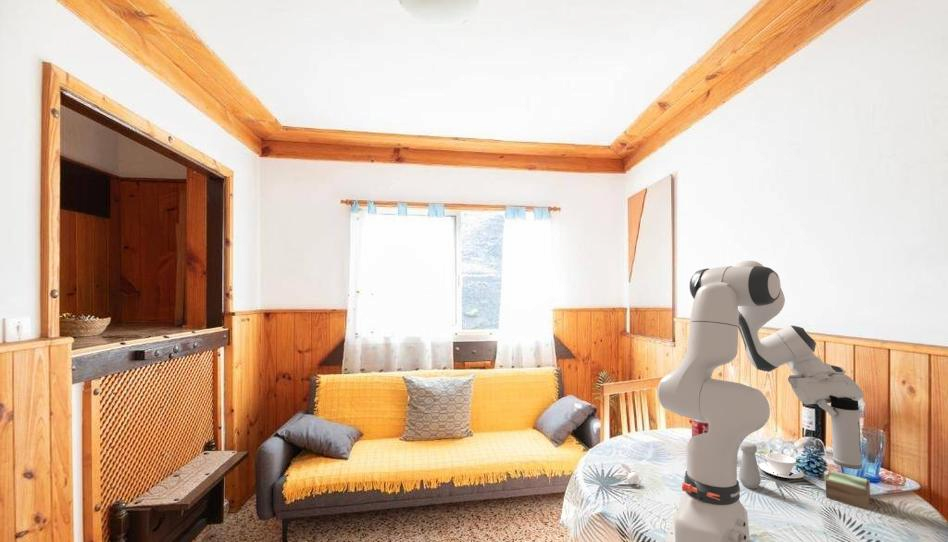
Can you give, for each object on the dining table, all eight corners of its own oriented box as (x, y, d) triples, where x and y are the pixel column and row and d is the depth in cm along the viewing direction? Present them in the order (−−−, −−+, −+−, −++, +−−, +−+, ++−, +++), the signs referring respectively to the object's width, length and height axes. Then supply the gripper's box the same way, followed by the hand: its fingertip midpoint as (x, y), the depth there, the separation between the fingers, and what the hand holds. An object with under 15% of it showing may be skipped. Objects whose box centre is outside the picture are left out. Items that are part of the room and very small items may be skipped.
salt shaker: (764, 491, 125) (763, 447, 126) (743, 489, 126) (742, 446, 127) (755, 482, 131) (754, 440, 131) (735, 480, 132) (734, 439, 132)
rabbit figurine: (637, 490, 126) (613, 472, 131) (634, 495, 129) (611, 477, 133) (645, 475, 129) (622, 458, 134) (642, 480, 132) (619, 463, 136)
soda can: (716, 452, 154) (715, 419, 155) (710, 457, 150) (709, 424, 150) (696, 447, 160) (695, 415, 160) (689, 452, 155) (688, 420, 155)
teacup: (762, 462, 145) (762, 447, 145) (806, 473, 137) (805, 457, 137) (755, 474, 136) (755, 458, 137) (801, 486, 128) (801, 468, 128)
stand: (868, 509, 115) (867, 489, 115) (826, 497, 121) (825, 479, 121) (870, 497, 121) (869, 479, 121) (829, 486, 127) (829, 469, 127)
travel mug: (826, 459, 125) (823, 393, 126) (851, 461, 124) (847, 393, 125) (842, 468, 118) (838, 398, 119) (868, 470, 117) (864, 399, 118)
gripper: (791, 370, 128) (823, 411, 117) (847, 367, 131) (883, 407, 121) (778, 381, 132) (809, 422, 122) (833, 378, 135) (867, 418, 125)
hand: (846, 414), depth 121 cm, fingers closed on travel mug, 6 cm apart
